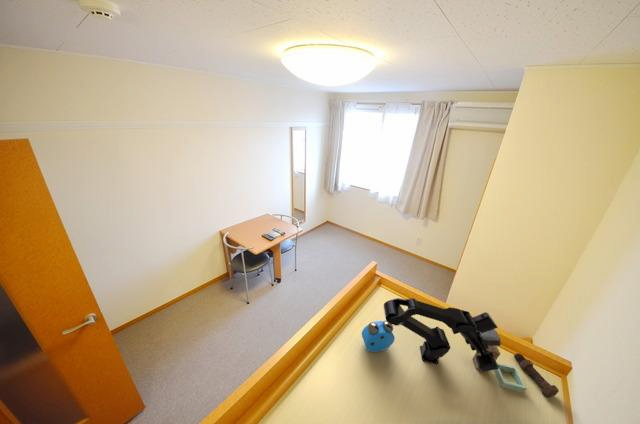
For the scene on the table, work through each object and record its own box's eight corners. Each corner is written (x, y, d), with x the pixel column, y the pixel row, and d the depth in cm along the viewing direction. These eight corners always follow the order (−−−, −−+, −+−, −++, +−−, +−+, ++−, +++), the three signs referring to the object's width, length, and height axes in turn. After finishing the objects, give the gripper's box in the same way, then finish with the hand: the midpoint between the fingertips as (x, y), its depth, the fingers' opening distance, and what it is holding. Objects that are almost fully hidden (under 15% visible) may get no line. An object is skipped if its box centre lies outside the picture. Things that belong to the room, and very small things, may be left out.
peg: (476, 369, 94) (488, 350, 88) (472, 358, 98) (483, 340, 92) (487, 372, 94) (500, 353, 88) (483, 361, 97) (495, 343, 92)
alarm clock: (385, 337, 105) (392, 316, 98) (391, 350, 100) (398, 328, 93) (359, 341, 103) (364, 319, 96) (364, 355, 97) (369, 332, 91)
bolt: (514, 359, 101) (549, 398, 87) (508, 357, 99) (542, 396, 86) (524, 351, 99) (562, 390, 86) (518, 349, 97) (555, 388, 84)
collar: (500, 386, 89) (503, 382, 88) (491, 366, 96) (494, 362, 95) (523, 392, 88) (526, 388, 86) (512, 371, 94) (515, 366, 93)
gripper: (503, 351, 78) (524, 377, 81) (481, 308, 94) (499, 331, 97) (470, 359, 83) (491, 383, 86) (455, 316, 99) (473, 338, 102)
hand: (489, 357), depth 93 cm, fingers closed on peg, 4 cm apart
